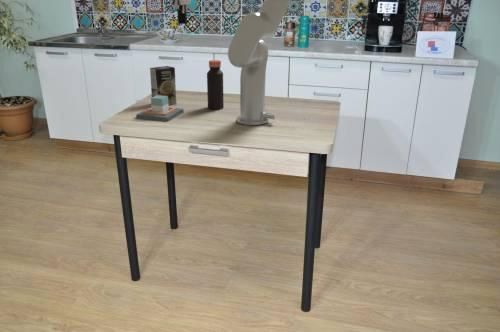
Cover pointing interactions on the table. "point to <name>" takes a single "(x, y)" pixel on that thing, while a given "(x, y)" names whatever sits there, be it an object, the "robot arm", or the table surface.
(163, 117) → the slate plate
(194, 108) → the table surface
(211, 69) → the bottle
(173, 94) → the coffee box
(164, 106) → the brick stack
